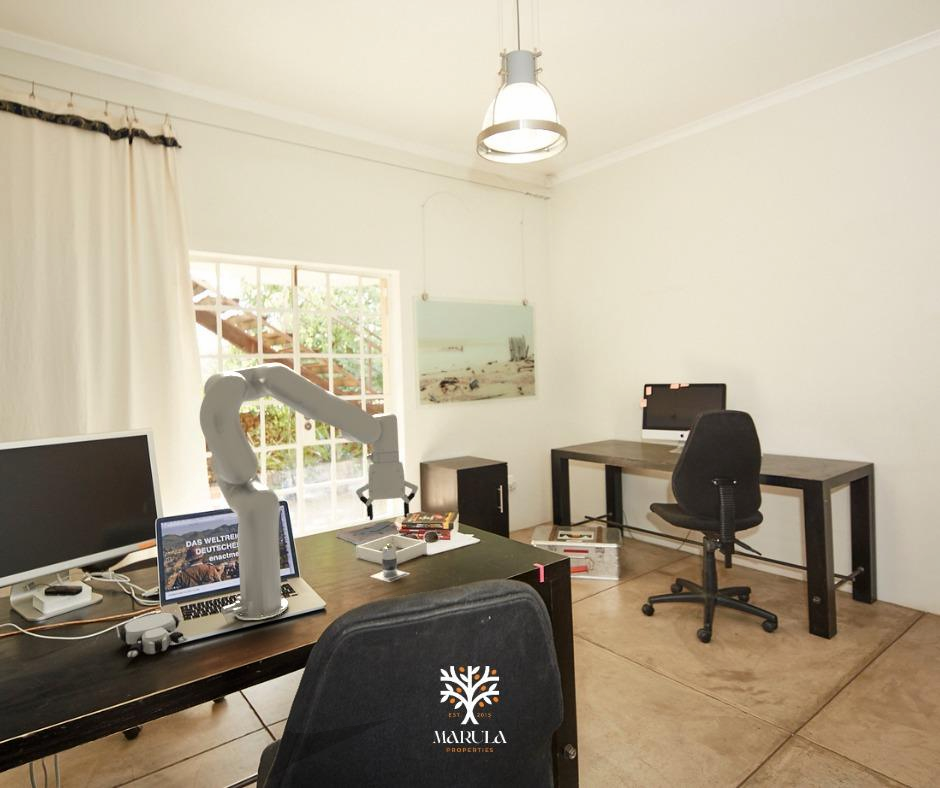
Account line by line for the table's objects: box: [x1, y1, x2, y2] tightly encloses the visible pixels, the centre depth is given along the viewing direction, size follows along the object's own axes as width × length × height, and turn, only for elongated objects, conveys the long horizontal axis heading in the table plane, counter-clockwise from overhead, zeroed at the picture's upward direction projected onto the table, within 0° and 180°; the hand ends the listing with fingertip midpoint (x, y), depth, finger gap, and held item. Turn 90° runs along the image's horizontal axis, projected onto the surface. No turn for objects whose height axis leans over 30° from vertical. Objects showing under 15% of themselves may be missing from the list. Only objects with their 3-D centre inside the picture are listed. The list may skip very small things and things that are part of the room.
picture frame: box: [336, 520, 399, 546], centre depth 209 cm, size 16×2×22 cm
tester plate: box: [369, 569, 411, 583], centre depth 164 cm, size 8×8×1 cm
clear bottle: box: [381, 543, 398, 577], centre depth 163 cm, size 4×4×9 cm
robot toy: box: [115, 609, 188, 658], centre depth 127 cm, size 12×4×15 cm
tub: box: [355, 534, 428, 565], centre depth 182 cm, size 16×16×4 cm
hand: (388, 517), depth 163 cm, fingers open, 9 cm apart
